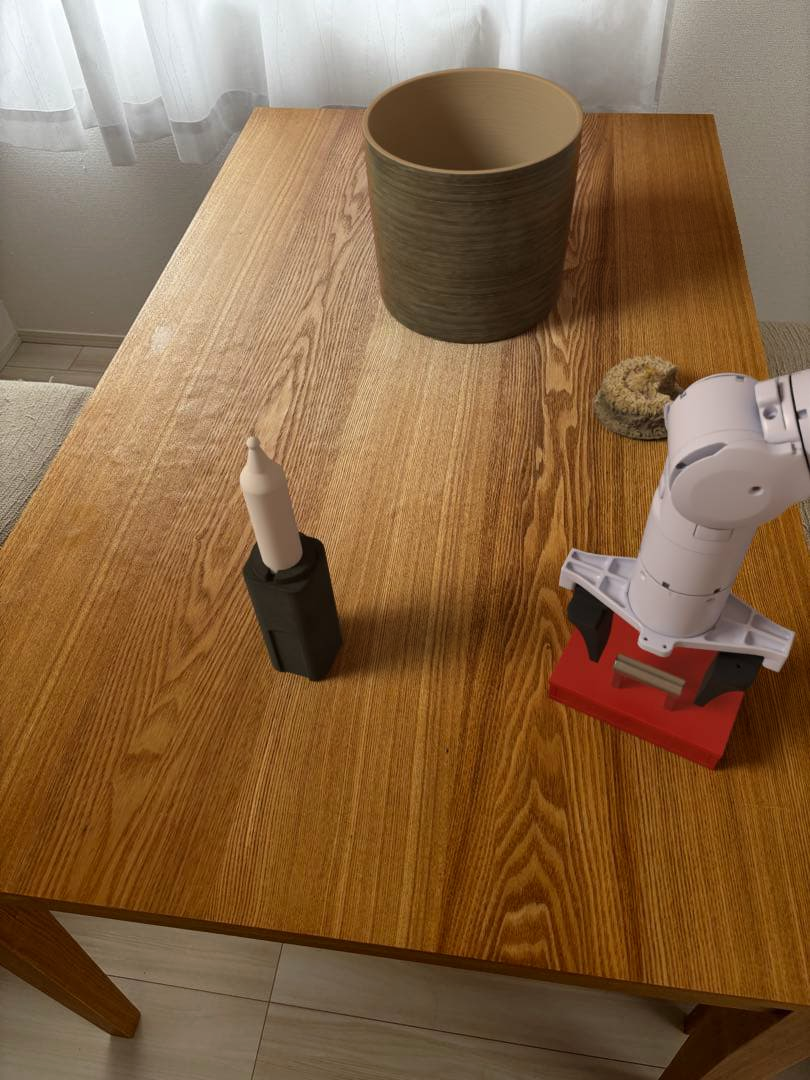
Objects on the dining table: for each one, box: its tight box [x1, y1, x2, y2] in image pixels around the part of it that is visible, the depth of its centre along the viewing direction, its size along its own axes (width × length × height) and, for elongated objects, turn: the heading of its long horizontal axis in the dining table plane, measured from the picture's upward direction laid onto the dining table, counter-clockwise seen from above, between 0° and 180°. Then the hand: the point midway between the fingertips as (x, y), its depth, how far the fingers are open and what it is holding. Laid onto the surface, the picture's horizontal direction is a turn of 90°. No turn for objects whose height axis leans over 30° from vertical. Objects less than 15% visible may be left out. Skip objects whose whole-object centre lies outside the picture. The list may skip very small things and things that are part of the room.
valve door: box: [548, 612, 746, 760], centre depth 65 cm, size 10×13×4 cm
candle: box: [239, 435, 344, 682], centre depth 63 cm, size 5×5×25 cm
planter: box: [361, 67, 585, 344], centre depth 95 cm, size 22×22×20 cm
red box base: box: [547, 684, 721, 771], centre depth 68 cm, size 10×13×3 cm
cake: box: [592, 354, 686, 440], centre depth 87 cm, size 10×10×5 cm
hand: (649, 672), depth 62 cm, fingers open, 7 cm apart
